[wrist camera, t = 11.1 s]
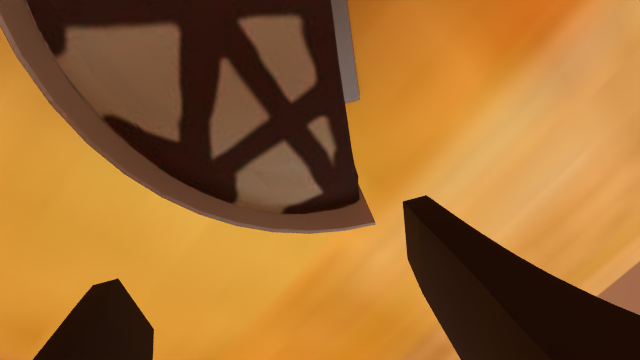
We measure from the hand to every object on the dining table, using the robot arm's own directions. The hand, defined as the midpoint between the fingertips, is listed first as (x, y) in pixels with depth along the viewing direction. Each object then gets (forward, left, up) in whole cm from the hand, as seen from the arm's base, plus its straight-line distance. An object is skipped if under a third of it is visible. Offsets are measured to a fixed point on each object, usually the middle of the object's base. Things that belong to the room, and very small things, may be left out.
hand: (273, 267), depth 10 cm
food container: (0, +6, -10) cm, 12 cm away
